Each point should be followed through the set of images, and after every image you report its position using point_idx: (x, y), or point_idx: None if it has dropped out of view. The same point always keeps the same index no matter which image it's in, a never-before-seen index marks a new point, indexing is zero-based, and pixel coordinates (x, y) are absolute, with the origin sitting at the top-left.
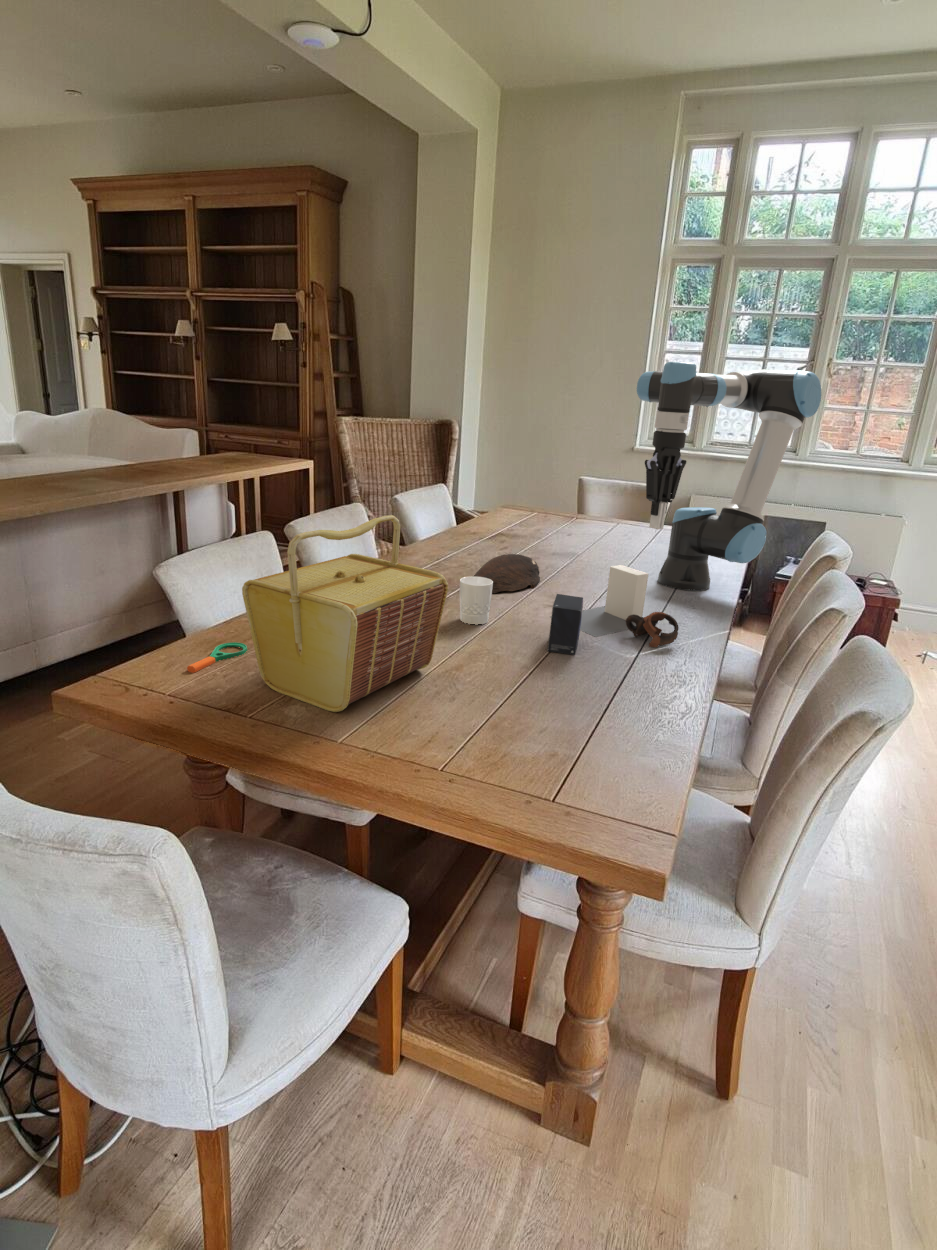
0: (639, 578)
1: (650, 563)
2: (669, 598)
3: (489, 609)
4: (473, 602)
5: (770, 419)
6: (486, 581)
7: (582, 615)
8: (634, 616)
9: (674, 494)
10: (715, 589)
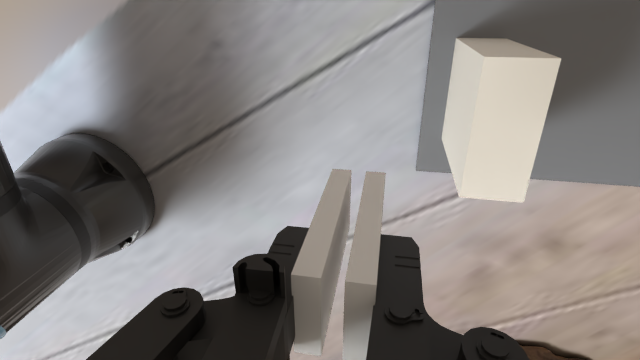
0: (539, 55)
1: (74, 310)
2: (215, 135)
3: None
4: None
5: None
6: None
7: (573, 150)
8: None
9: (152, 322)
10: (48, 124)
